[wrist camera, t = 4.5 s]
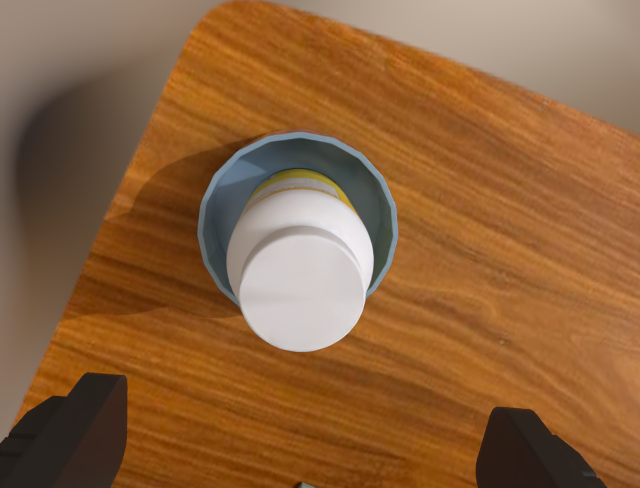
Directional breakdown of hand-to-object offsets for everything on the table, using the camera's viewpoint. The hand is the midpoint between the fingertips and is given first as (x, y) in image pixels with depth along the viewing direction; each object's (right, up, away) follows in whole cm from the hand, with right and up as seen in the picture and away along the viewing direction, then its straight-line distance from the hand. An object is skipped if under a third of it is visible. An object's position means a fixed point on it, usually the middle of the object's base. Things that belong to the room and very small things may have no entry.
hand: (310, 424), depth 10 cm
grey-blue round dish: (-1, +6, +18) cm, 19 cm away
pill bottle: (-1, +6, +18) cm, 19 cm away
